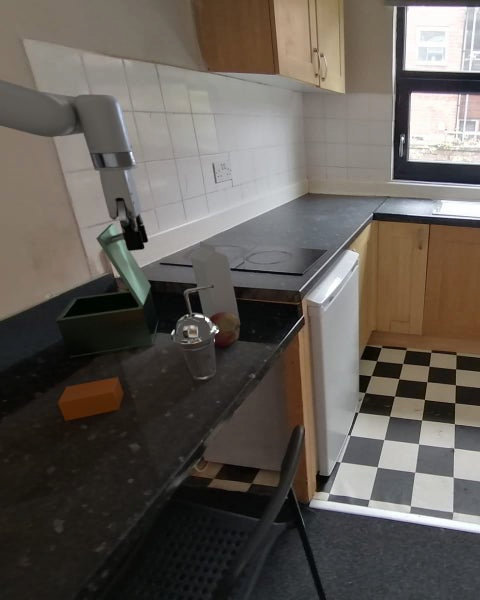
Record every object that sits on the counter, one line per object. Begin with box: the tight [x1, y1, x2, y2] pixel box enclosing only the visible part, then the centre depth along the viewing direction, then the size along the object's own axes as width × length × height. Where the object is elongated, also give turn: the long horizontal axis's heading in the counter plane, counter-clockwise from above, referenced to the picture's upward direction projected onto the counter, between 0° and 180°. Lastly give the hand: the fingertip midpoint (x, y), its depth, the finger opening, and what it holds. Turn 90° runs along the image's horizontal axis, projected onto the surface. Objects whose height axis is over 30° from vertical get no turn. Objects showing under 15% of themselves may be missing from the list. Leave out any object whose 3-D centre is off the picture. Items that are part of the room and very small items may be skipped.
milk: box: [190, 241, 241, 326], centre depth 99 cm, size 6×6×22 cm
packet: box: [57, 376, 125, 422], centre depth 73 cm, size 8×5×4 cm, turn 113°
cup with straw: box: [170, 285, 219, 382], centre depth 79 cm, size 8×9×20 cm
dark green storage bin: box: [55, 288, 160, 361], centre depth 94 cm, size 16×13×10 cm
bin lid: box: [95, 223, 152, 306], centre depth 92 cm, size 17×13×5 cm
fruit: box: [209, 312, 241, 348], centre depth 93 cm, size 8×8×8 cm
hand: (138, 245), depth 91 cm, fingers closed on bin lid, 5 cm apart
